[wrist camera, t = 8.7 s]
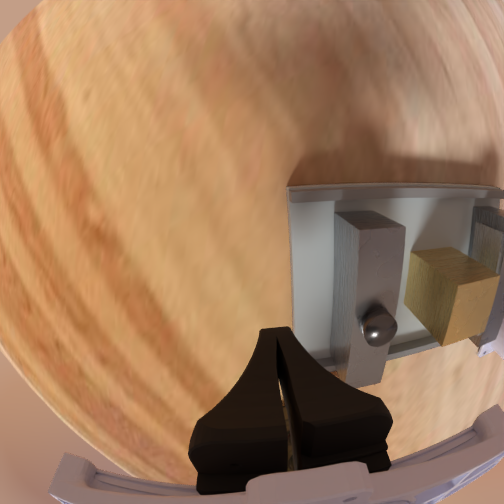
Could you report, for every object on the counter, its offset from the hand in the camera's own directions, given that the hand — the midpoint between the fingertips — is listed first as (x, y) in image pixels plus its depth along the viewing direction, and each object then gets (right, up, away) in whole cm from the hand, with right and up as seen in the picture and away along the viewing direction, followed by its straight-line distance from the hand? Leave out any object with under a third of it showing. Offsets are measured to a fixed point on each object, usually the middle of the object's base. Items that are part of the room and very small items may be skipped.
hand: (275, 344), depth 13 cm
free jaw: (+5, +2, +4) cm, 7 cm away
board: (+10, +3, +5) cm, 12 cm away
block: (+12, +3, +5) cm, 13 cm away
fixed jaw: (+17, +3, +5) cm, 18 cm away
